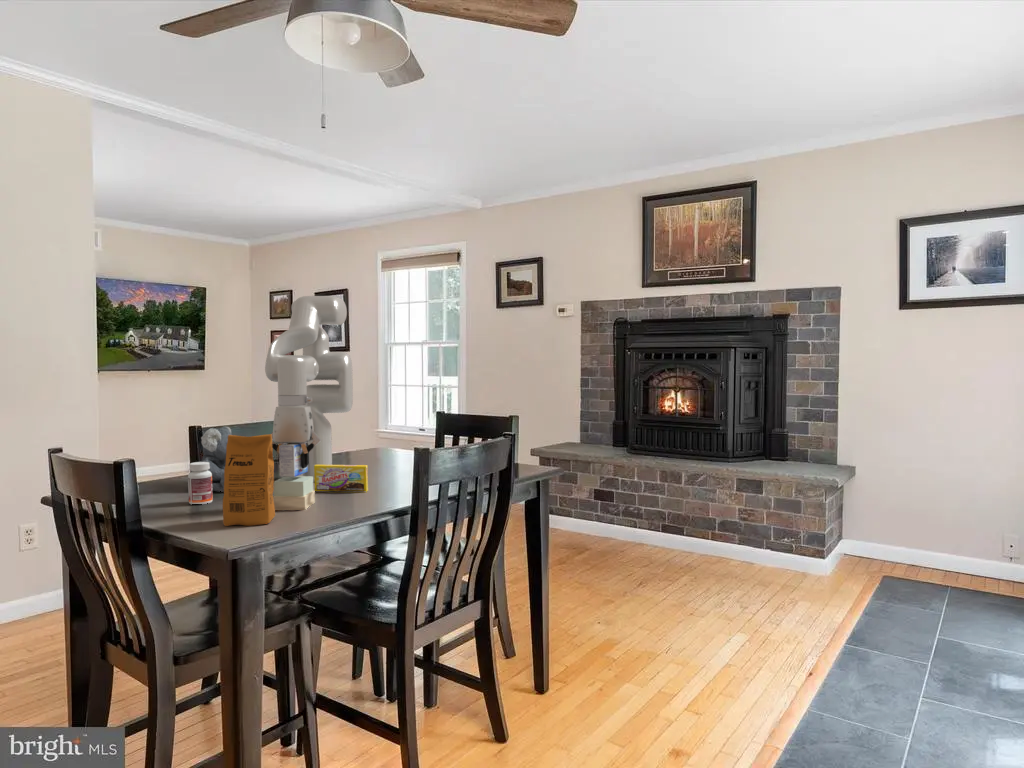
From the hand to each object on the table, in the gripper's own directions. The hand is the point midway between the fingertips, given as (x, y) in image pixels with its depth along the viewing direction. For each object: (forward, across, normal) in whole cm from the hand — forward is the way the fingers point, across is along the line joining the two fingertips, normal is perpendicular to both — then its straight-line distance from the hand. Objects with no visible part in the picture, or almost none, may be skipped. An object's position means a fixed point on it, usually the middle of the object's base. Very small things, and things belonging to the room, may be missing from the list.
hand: (293, 466), depth 189 cm
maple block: (+11, 0, +1) cm, 11 cm away
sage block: (+7, 0, 0) cm, 7 cm away
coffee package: (+11, +6, +17) cm, 21 cm away
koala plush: (+11, +32, -27) cm, 43 cm away
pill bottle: (+11, +28, -5) cm, 31 cm away
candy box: (+11, -8, -20) cm, 24 cm away
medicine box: (+2, 0, 0) cm, 2 cm away
